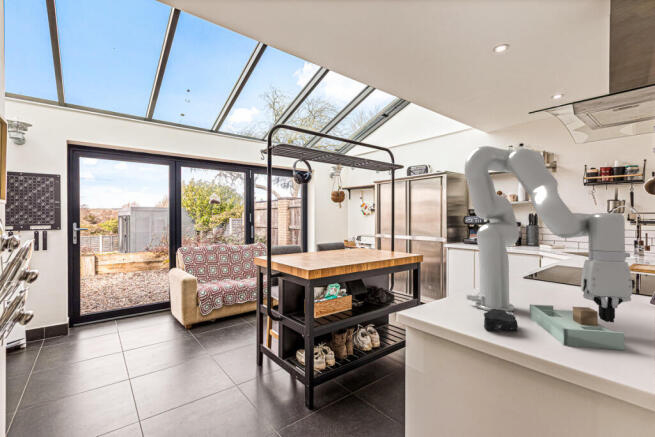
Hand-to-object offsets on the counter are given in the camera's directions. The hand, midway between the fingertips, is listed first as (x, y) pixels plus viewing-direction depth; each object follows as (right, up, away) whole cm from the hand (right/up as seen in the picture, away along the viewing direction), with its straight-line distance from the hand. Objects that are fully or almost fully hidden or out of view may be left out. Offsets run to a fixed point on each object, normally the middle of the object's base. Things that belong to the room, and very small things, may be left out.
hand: (606, 320), depth 84 cm
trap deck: (-8, -4, +2) cm, 10 cm away
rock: (-27, -5, +5) cm, 28 cm away
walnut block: (-5, -1, +1) cm, 6 cm away
